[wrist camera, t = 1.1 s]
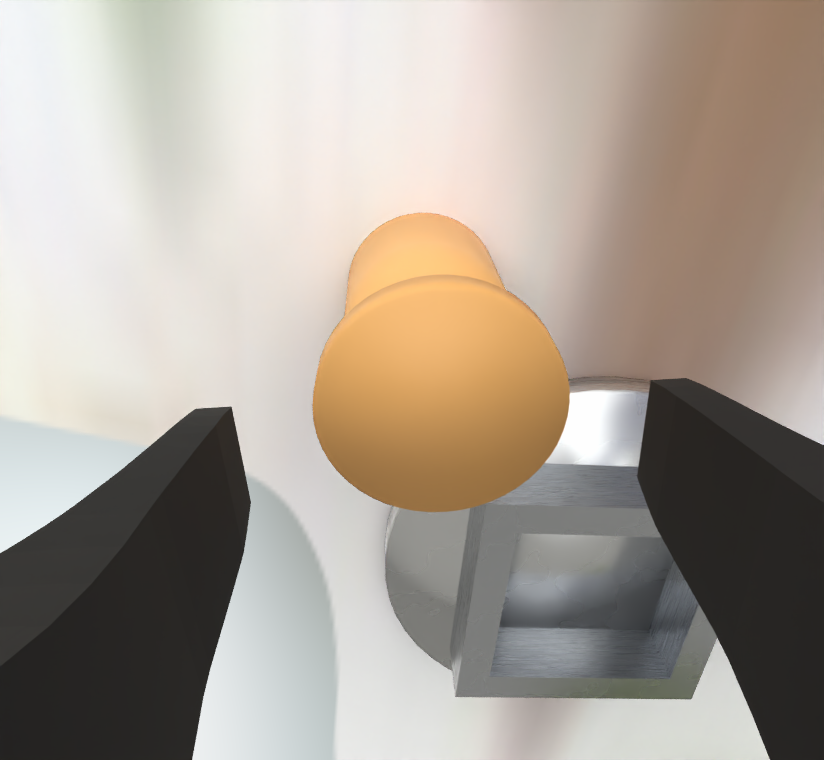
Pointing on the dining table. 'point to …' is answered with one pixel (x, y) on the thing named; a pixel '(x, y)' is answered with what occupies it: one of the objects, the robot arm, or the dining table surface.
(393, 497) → the pin
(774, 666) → the robot arm
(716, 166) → the dining table surface
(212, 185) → the dining table surface
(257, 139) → the dining table surface
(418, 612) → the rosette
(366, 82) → the dining table surface
